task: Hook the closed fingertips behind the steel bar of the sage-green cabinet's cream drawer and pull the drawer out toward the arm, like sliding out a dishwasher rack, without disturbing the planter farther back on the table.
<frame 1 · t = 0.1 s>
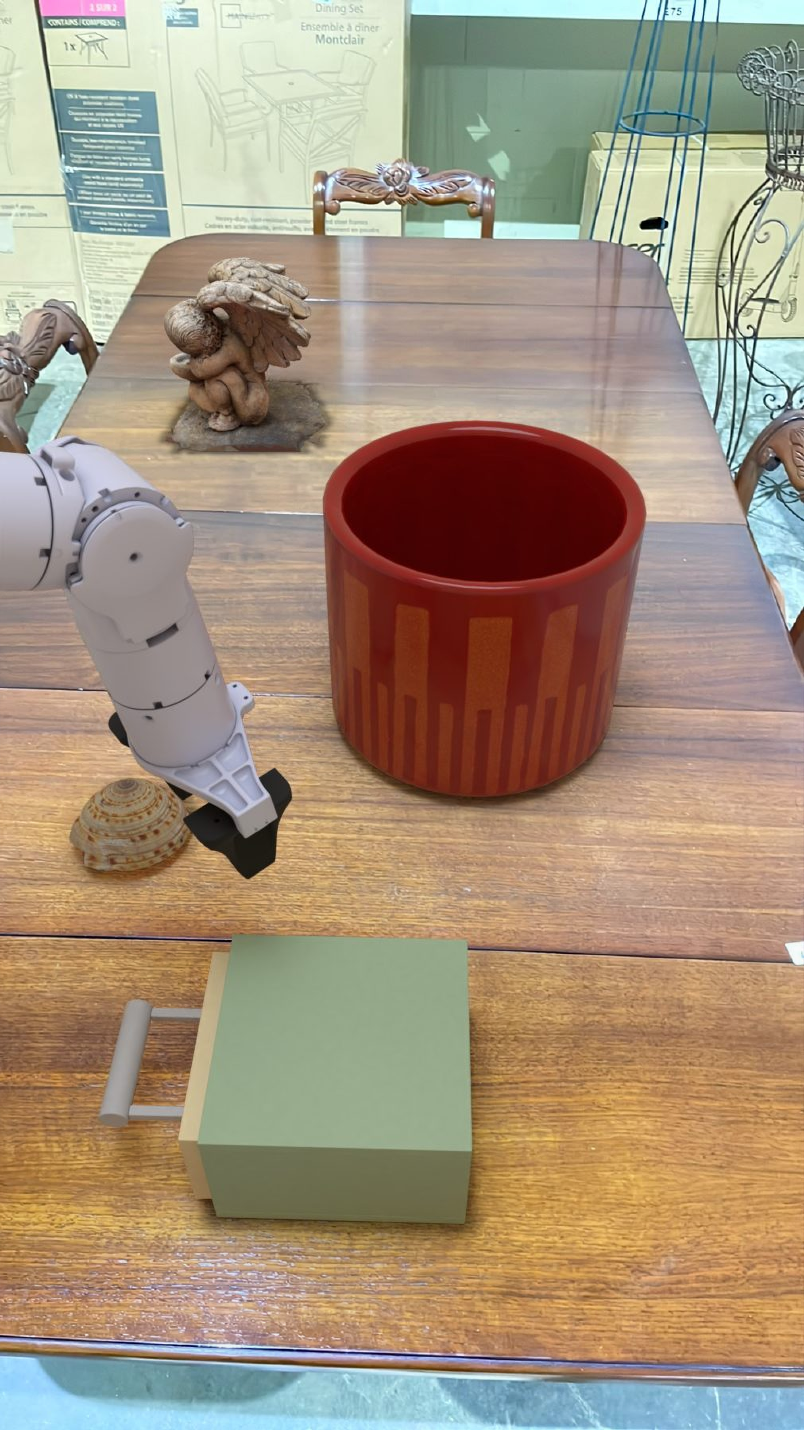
hand: (225, 826, 65), 12 cm above the table, tool pointing down, fingers open, 7 cm apart
drawer: (270, 1072, 61), point 4 cm above the table, slide at 0.0 cm
planter: (470, 708, 90), on the table
cabinet: (347, 1112, 64), on the table
cherub figurine: (251, 416, 128), on the table
seashell: (135, 838, 80), on the table
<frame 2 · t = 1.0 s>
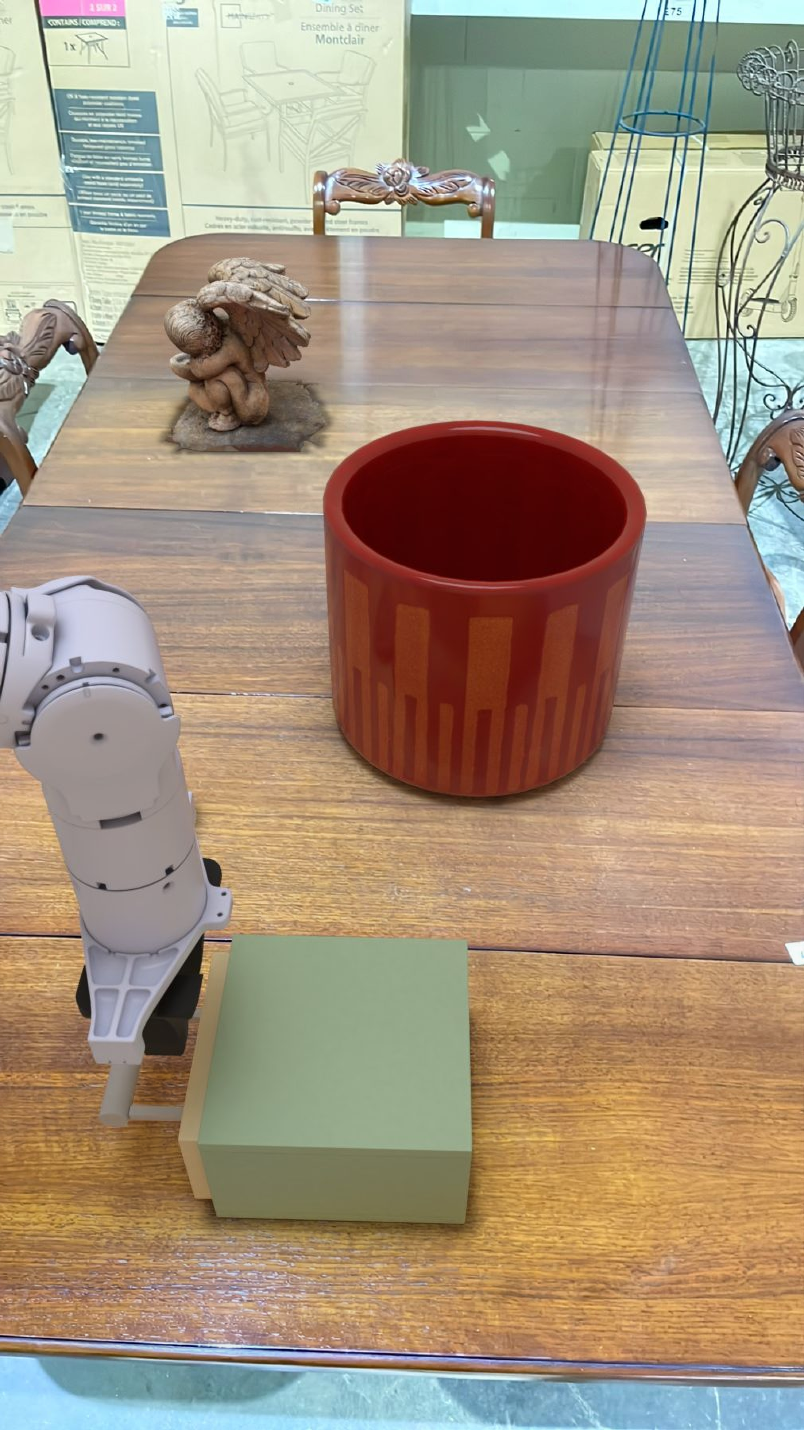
hand: (172, 1011, 57), 10 cm above the table, tool pointing down, fingers open, 4 cm apart
nothing on the table moved.
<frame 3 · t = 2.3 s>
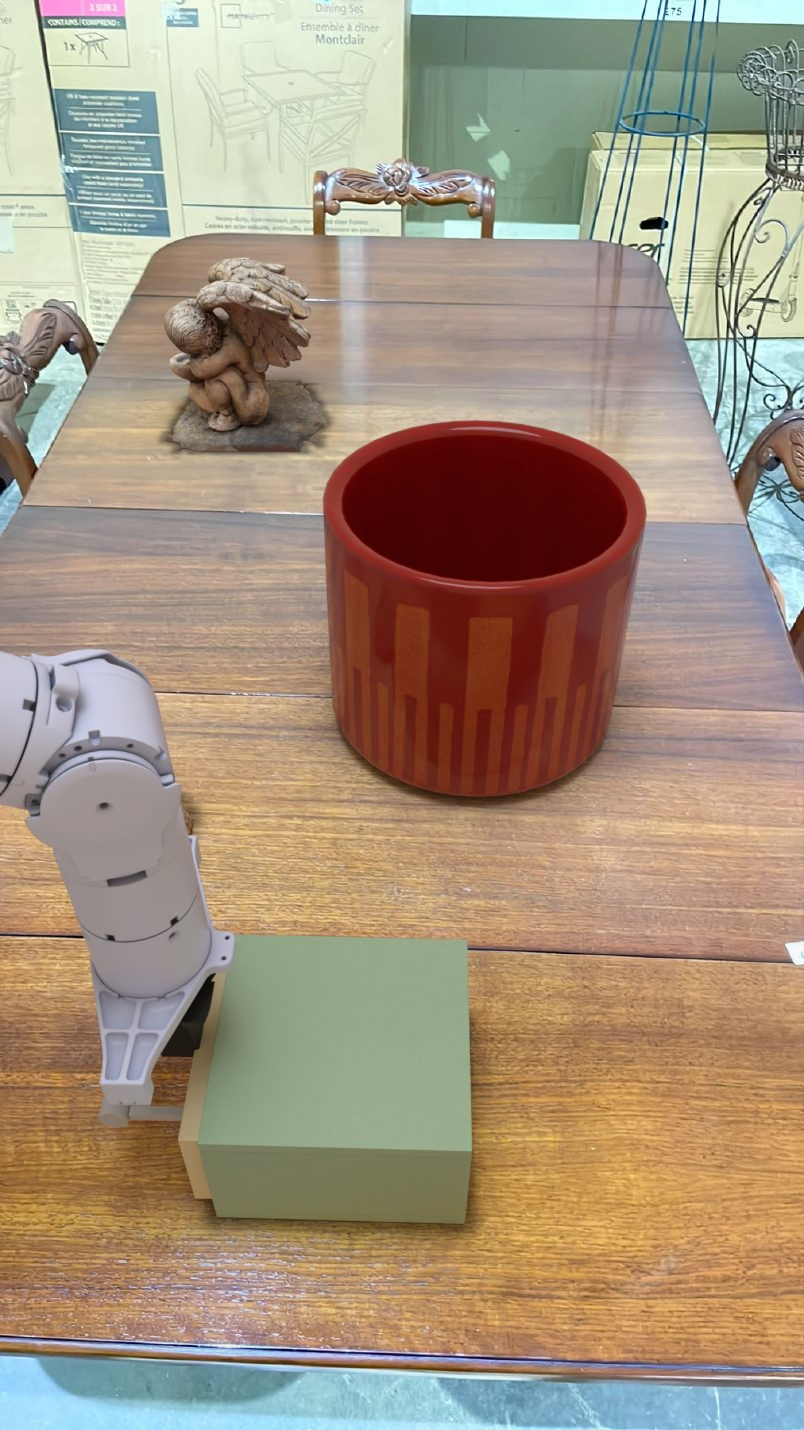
hand: (181, 1045, 59), 7 cm above the table, tool pointing down, fingers closed, pressing on drawer
drawer: (270, 1072, 61), point 4 cm above the table, slide at 0.0 cm, touching cabinet, gripper
everything else where it was.
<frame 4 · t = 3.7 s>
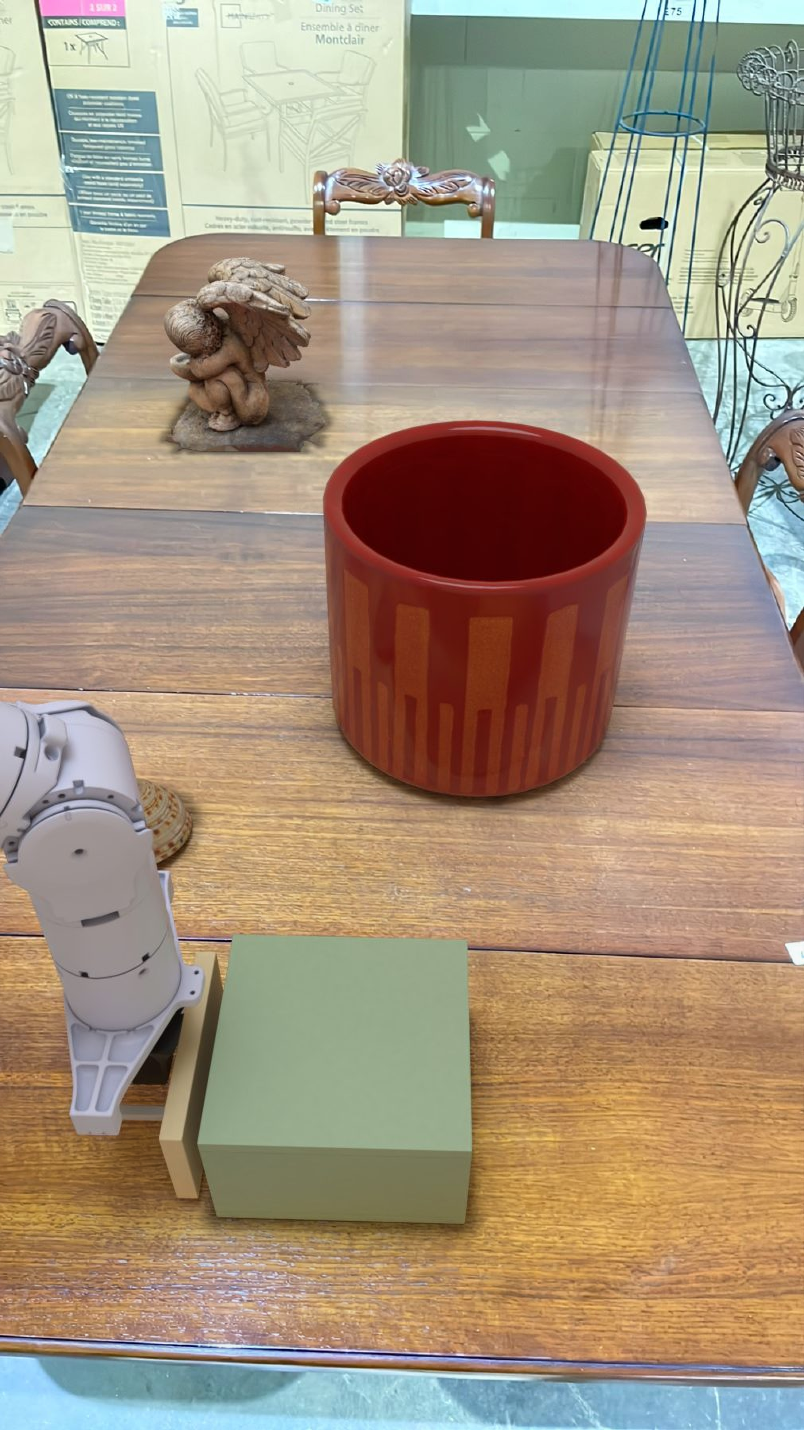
hand: (151, 1073, 61), 4 cm above the table, tool pointing down, fingers closed, pressing on drawer
drawer: (252, 1072, 61), point 4 cm above the table, slide at 1.0 cm, touching gripper
everything else where it was.
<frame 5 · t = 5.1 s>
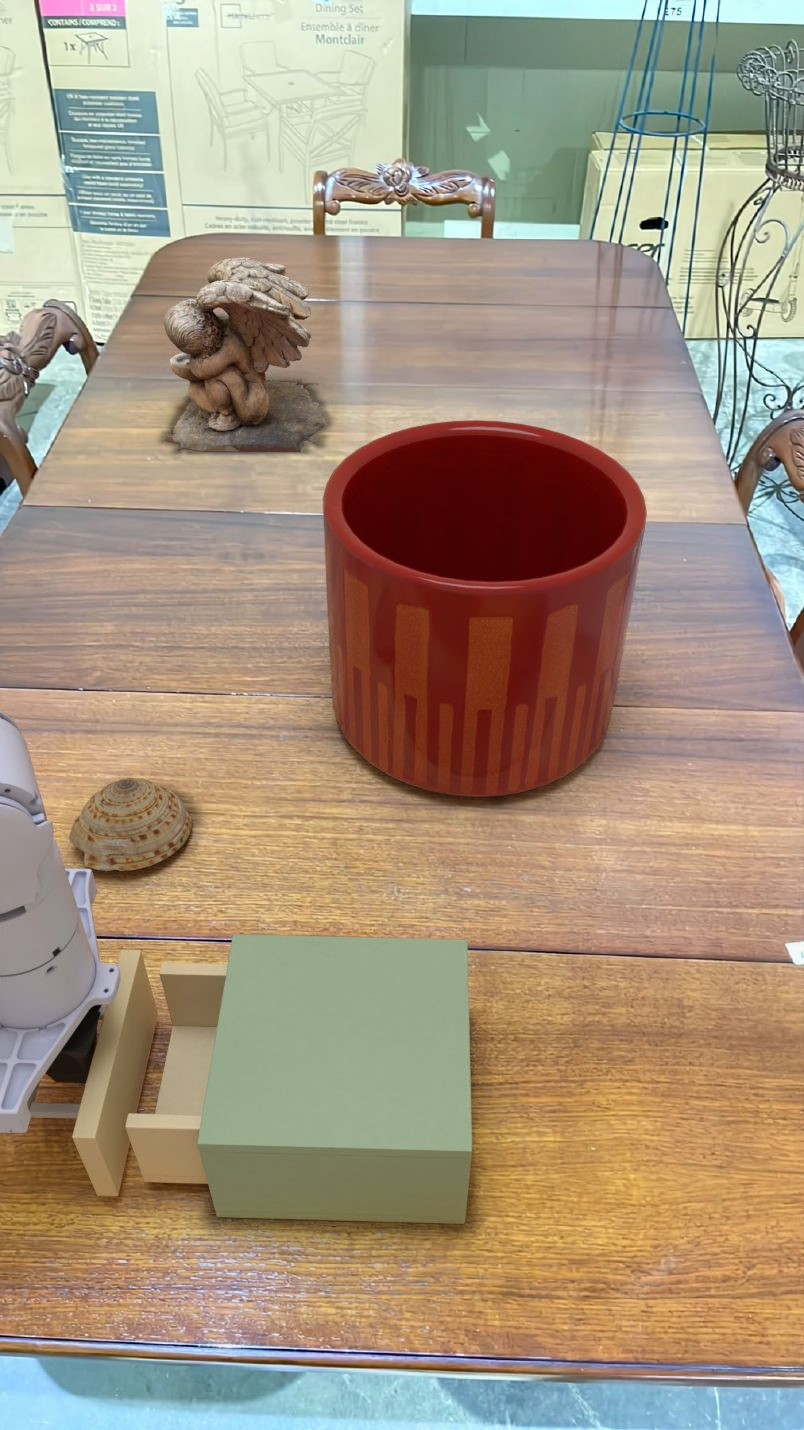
hand: (74, 1071, 61), 4 cm above the table, tool pointing down, fingers closed, pressing on drawer
drawer: (175, 1070, 61), point 4 cm above the table, slide at 5.4 cm, touching gripper
everything else where it was.
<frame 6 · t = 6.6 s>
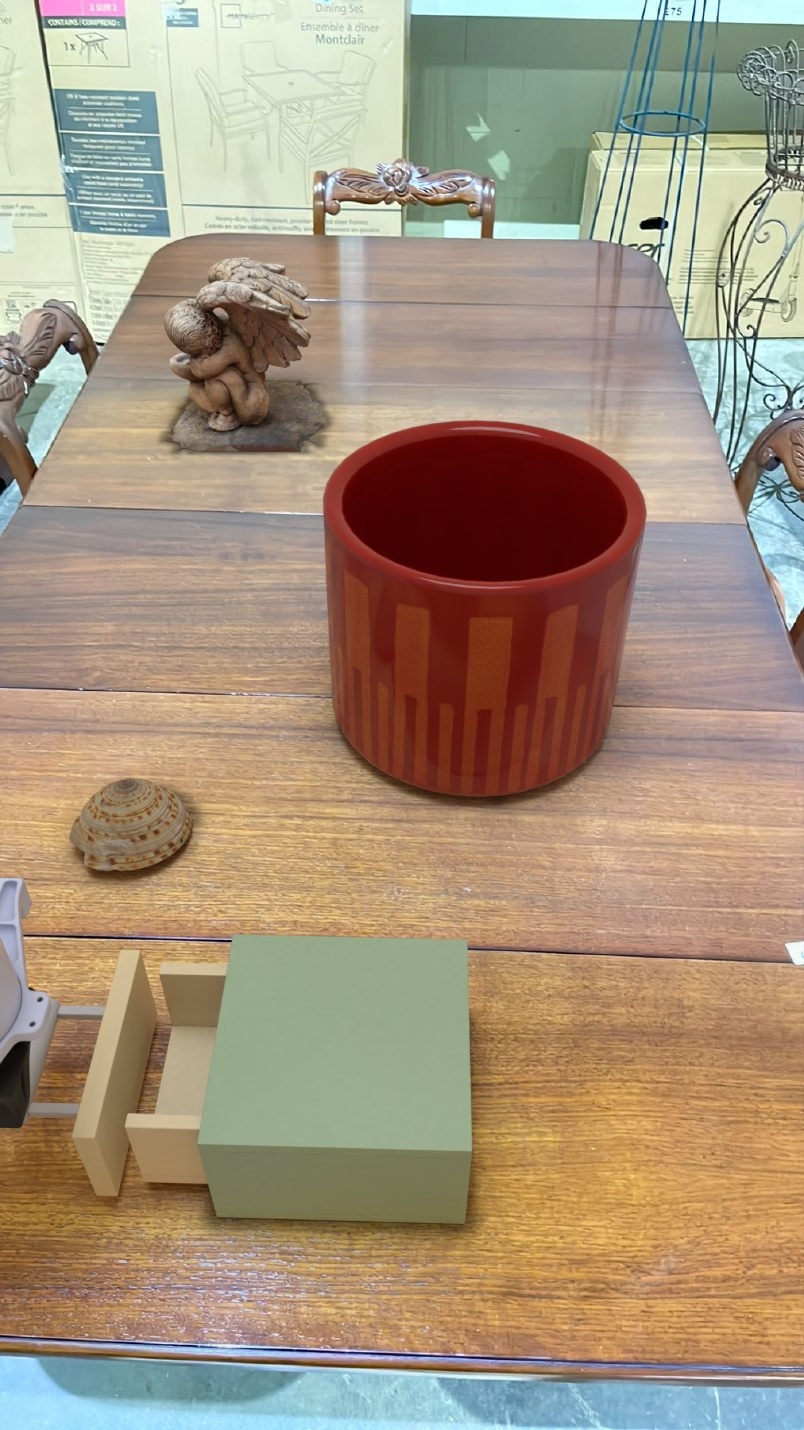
hand: (5, 1114, 52), 10 cm above the table, tool pointing down, fingers closed
drawer: (174, 1070, 61), point 4 cm above the table, slide at 5.4 cm
everything else where it was.
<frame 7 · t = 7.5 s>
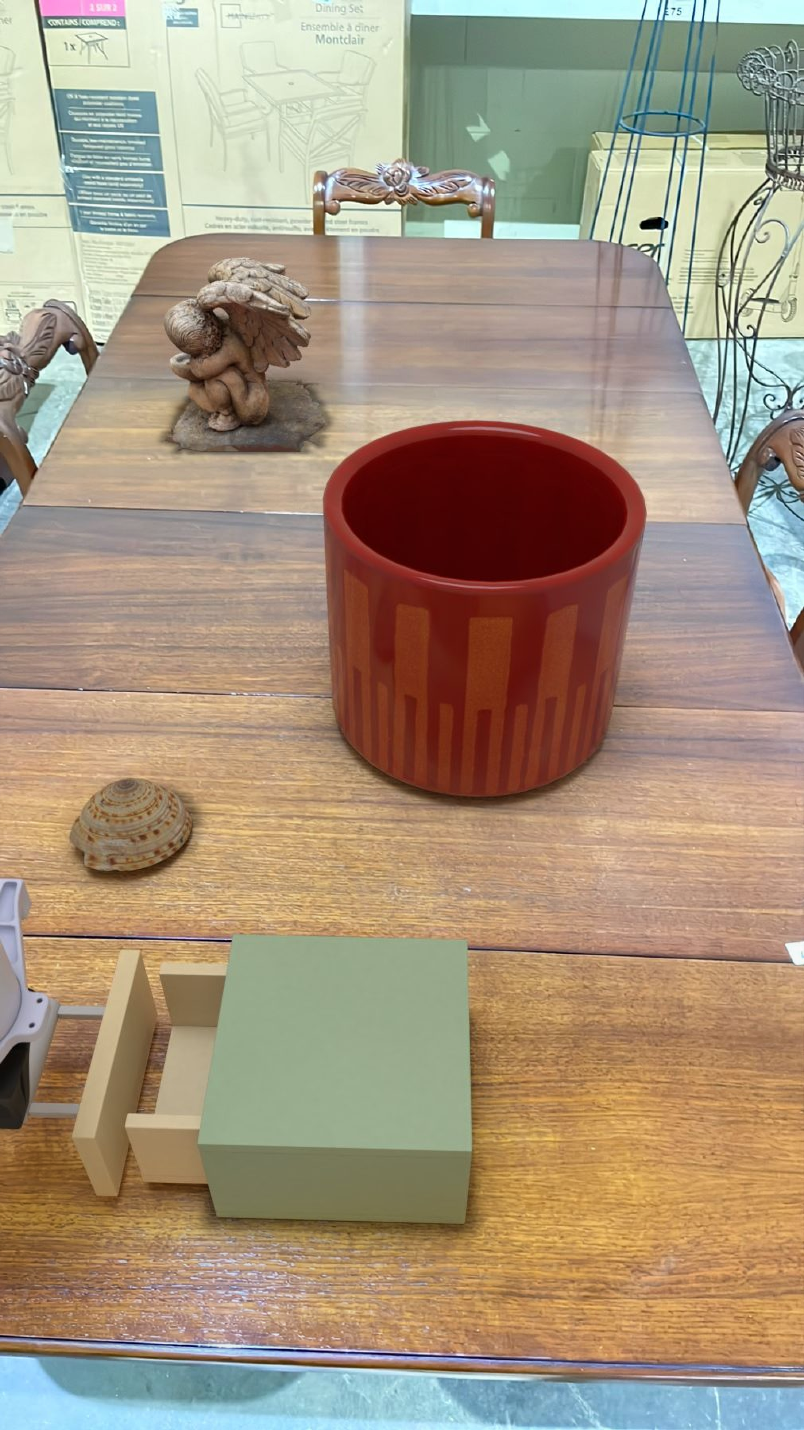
hand: (4, 1115, 52), 10 cm above the table, tool pointing down, fingers closed
nothing on the table moved.
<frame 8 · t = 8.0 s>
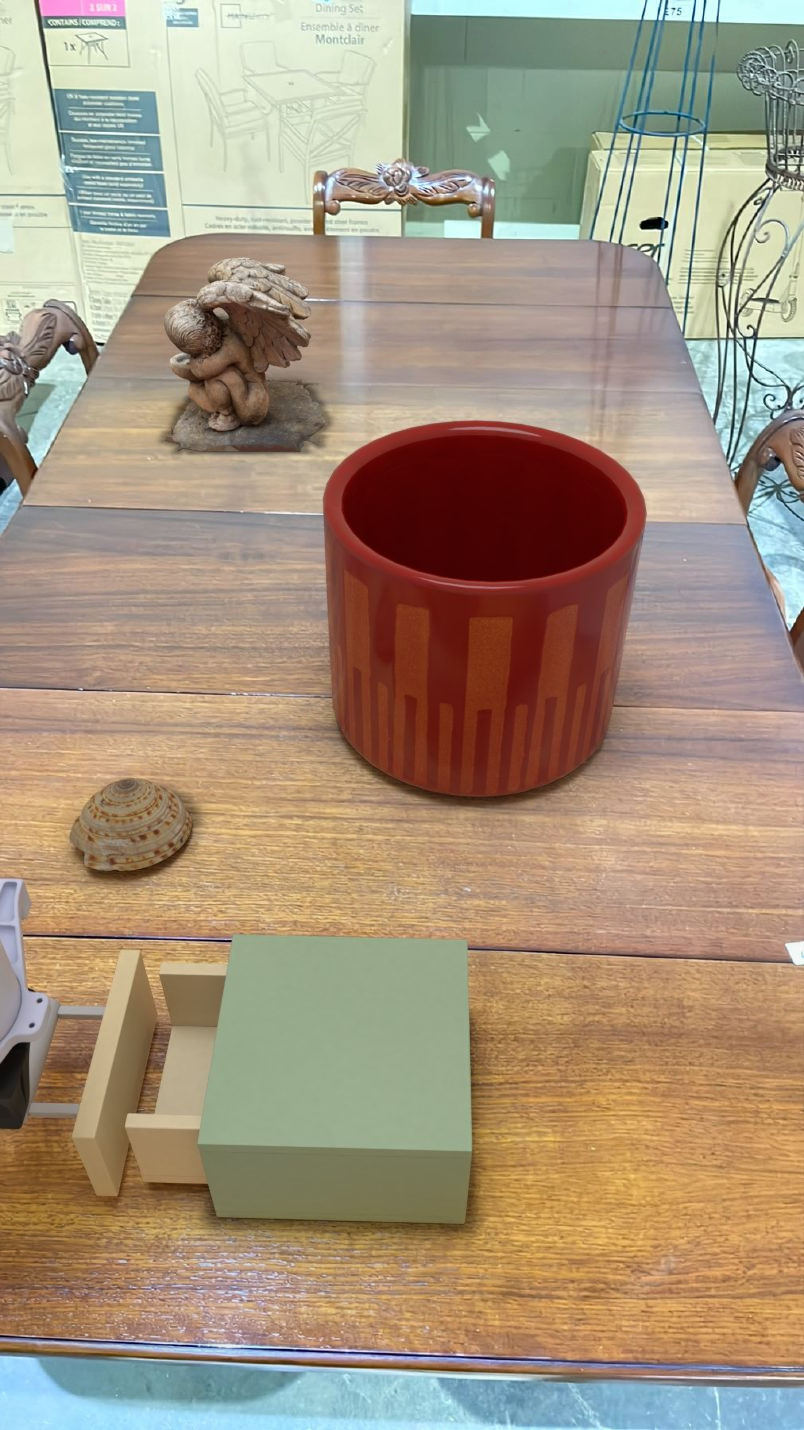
hand: (4, 1115, 52), 10 cm above the table, tool pointing down, fingers closed
nothing on the table moved.
at the end: drawer slide at 5.4 cm; planter moved 0.2 cm from its start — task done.
